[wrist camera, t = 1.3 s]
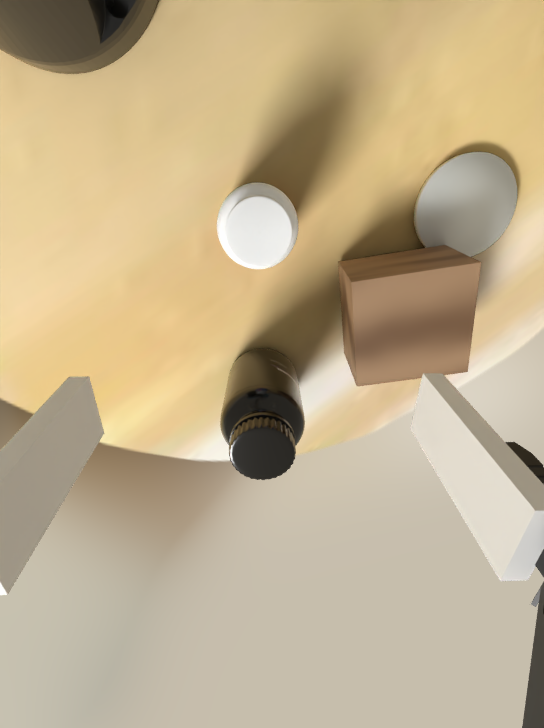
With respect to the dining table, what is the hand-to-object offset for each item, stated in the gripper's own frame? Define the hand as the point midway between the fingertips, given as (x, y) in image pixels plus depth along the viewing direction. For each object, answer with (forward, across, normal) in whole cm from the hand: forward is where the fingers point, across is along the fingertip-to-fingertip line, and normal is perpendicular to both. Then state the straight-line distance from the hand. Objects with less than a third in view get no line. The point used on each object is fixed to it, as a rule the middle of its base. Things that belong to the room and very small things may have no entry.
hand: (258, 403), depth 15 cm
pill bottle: (+20, 0, +5) cm, 21 cm away
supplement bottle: (+20, 0, -10) cm, 22 cm away
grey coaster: (+20, +17, +6) cm, 27 cm away
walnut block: (+19, +12, -2) cm, 23 cm away
